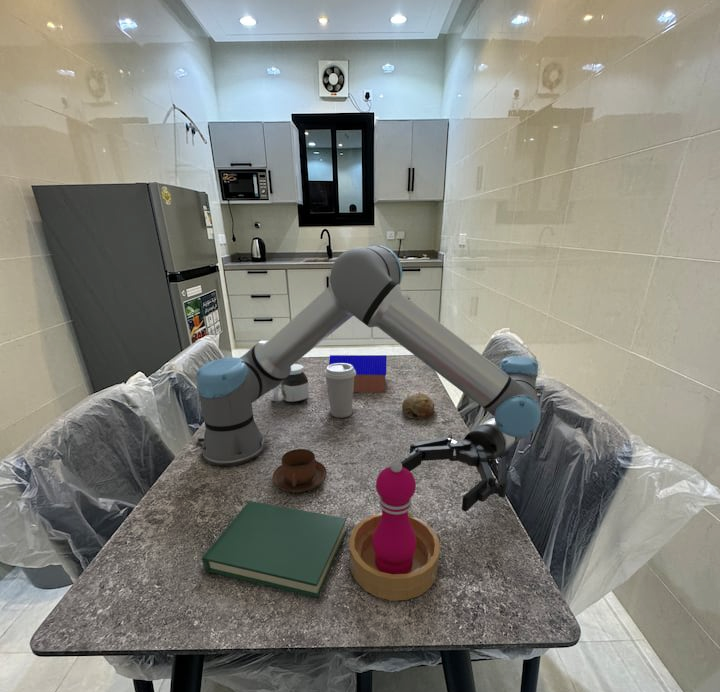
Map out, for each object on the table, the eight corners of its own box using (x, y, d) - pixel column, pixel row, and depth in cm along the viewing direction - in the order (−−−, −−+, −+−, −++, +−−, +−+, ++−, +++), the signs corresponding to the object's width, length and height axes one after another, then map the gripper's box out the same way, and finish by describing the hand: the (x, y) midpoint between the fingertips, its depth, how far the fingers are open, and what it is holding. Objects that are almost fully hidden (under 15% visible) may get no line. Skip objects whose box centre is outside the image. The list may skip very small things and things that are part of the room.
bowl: (339, 590, 60) (337, 566, 58) (363, 526, 73) (363, 505, 71) (432, 612, 56) (435, 587, 54) (441, 541, 69) (443, 519, 67)
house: (333, 380, 146) (332, 350, 141) (386, 380, 144) (386, 350, 140) (329, 392, 135) (327, 360, 130) (386, 392, 133) (386, 360, 129)
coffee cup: (353, 421, 114) (352, 373, 108) (322, 418, 116) (319, 371, 110) (359, 407, 122) (358, 362, 116) (330, 405, 124) (328, 361, 118)
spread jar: (312, 402, 127) (310, 369, 122) (281, 411, 121) (277, 376, 116) (297, 391, 136) (294, 359, 131) (266, 398, 130) (262, 366, 125)
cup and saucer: (332, 491, 83) (330, 467, 81) (276, 502, 80) (272, 477, 78) (321, 462, 94) (319, 440, 91) (271, 470, 91) (268, 448, 88)
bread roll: (399, 424, 119) (396, 408, 113) (407, 400, 125) (405, 383, 119) (431, 430, 115) (429, 413, 110) (438, 404, 121) (437, 387, 116)
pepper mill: (403, 587, 60) (408, 481, 52) (364, 568, 64) (362, 466, 55) (422, 556, 66) (428, 456, 58) (385, 540, 69) (386, 444, 61)
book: (204, 571, 64) (201, 557, 63) (251, 512, 77) (249, 500, 76) (317, 598, 59) (316, 584, 58) (346, 530, 72) (346, 518, 71)
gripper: (546, 480, 74) (494, 539, 60) (437, 437, 90) (376, 476, 76) (554, 447, 70) (500, 501, 57) (439, 408, 87) (376, 443, 73)
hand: (429, 486), depth 66 cm, fingers open, 13 cm apart
